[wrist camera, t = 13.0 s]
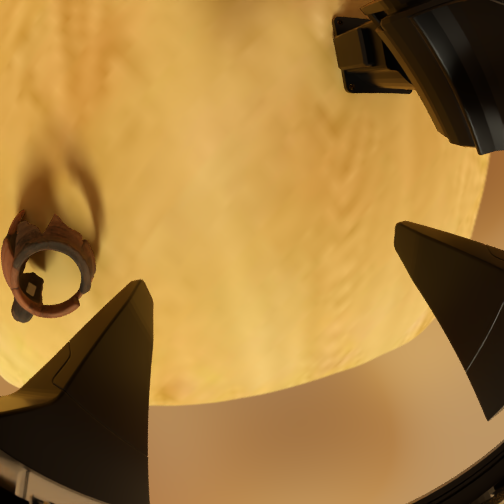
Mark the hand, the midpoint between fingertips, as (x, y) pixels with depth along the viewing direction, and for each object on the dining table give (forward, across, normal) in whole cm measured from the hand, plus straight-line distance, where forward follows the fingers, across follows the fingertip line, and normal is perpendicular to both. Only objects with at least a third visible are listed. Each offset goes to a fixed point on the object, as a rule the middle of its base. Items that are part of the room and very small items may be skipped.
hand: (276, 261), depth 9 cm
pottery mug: (+13, +19, +3) cm, 23 cm away
